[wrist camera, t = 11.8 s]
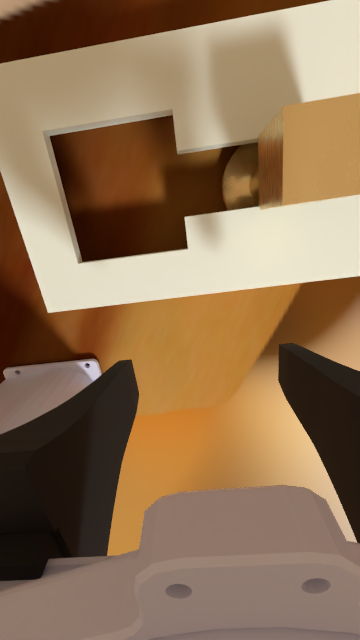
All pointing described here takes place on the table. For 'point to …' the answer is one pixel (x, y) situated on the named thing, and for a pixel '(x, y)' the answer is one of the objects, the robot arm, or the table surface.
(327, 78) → the keyhole plate
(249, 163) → the keyhole peg
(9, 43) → the table surface
